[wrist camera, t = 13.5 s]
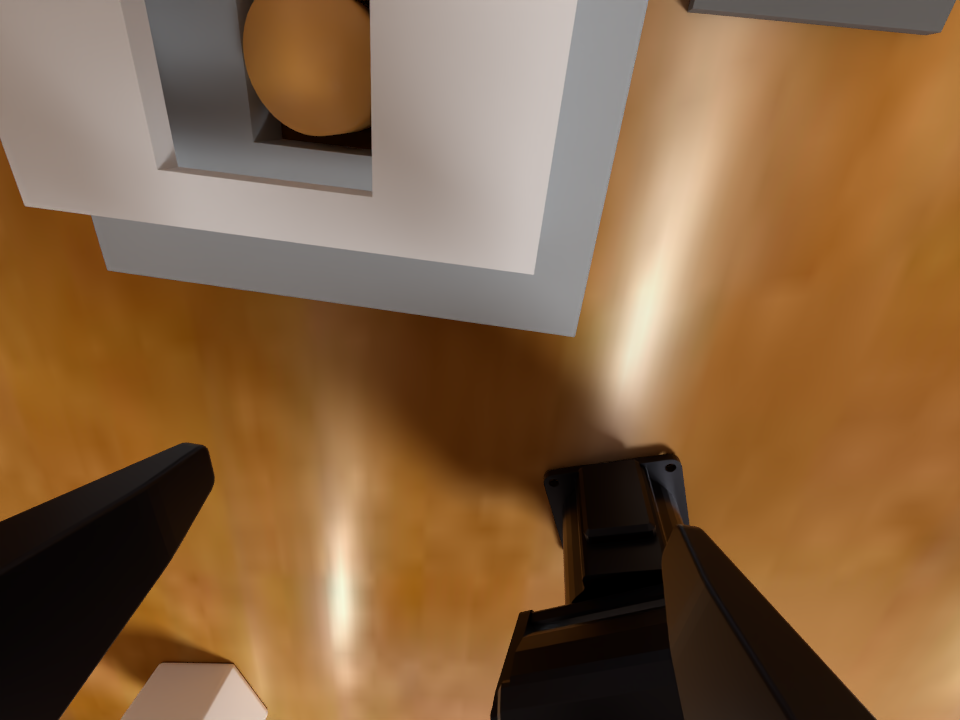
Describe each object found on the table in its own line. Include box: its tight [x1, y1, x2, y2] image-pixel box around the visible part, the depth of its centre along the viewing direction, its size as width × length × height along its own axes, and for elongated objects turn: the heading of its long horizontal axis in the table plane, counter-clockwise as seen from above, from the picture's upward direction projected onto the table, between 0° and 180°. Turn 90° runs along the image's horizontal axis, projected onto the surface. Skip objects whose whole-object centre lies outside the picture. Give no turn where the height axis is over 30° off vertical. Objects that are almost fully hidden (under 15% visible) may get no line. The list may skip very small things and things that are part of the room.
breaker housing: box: [0, 0, 648, 337], centre depth 14 cm, size 16×19×6 cm
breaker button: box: [243, 0, 372, 136], centre depth 15 cm, size 4×4×2 cm
